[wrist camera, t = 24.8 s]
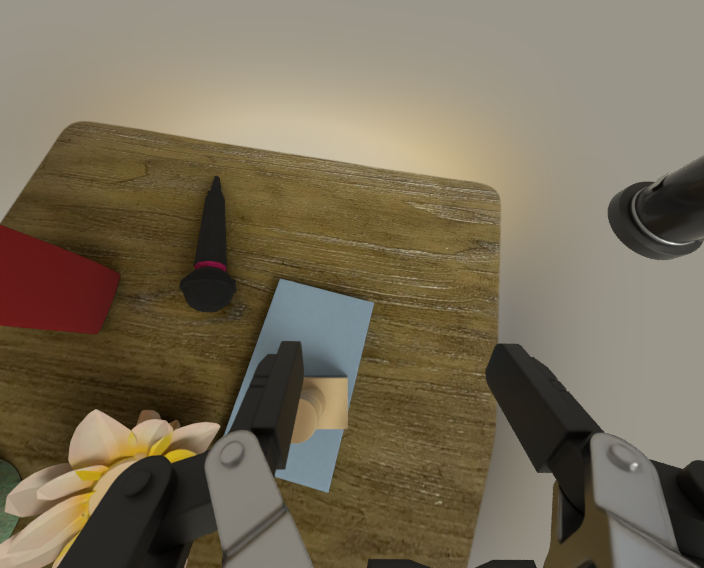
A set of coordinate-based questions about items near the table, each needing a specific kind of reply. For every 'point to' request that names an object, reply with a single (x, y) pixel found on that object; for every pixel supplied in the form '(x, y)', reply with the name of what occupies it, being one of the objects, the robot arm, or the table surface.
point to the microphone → (210, 259)
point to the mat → (313, 363)
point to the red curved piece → (51, 286)
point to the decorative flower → (89, 481)
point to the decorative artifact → (3, 481)
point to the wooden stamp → (321, 405)
